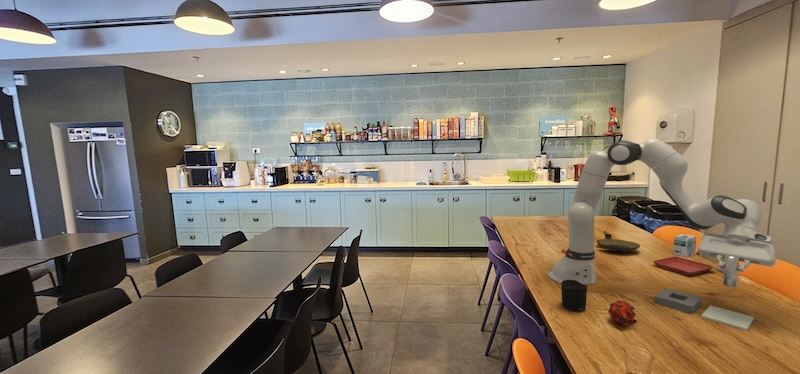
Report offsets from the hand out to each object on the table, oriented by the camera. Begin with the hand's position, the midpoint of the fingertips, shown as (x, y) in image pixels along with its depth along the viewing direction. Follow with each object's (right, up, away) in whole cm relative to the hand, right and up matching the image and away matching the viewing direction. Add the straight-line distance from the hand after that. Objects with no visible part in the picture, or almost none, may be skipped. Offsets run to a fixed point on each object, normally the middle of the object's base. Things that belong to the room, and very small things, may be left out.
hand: (730, 269), depth 120 cm
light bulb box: (+44, -9, +70) cm, 83 cm away
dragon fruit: (-38, -21, +3) cm, 43 cm away
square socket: (-7, -18, +15) cm, 24 cm away
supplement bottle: (+42, -12, +44) cm, 63 cm away
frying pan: (+14, -9, +85) cm, 86 cm away
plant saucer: (+25, -13, +50) cm, 57 cm away
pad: (+1, -19, +3) cm, 19 cm away
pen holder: (-49, -20, +16) cm, 55 cm away
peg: (+1, -6, +1) cm, 6 cm away
